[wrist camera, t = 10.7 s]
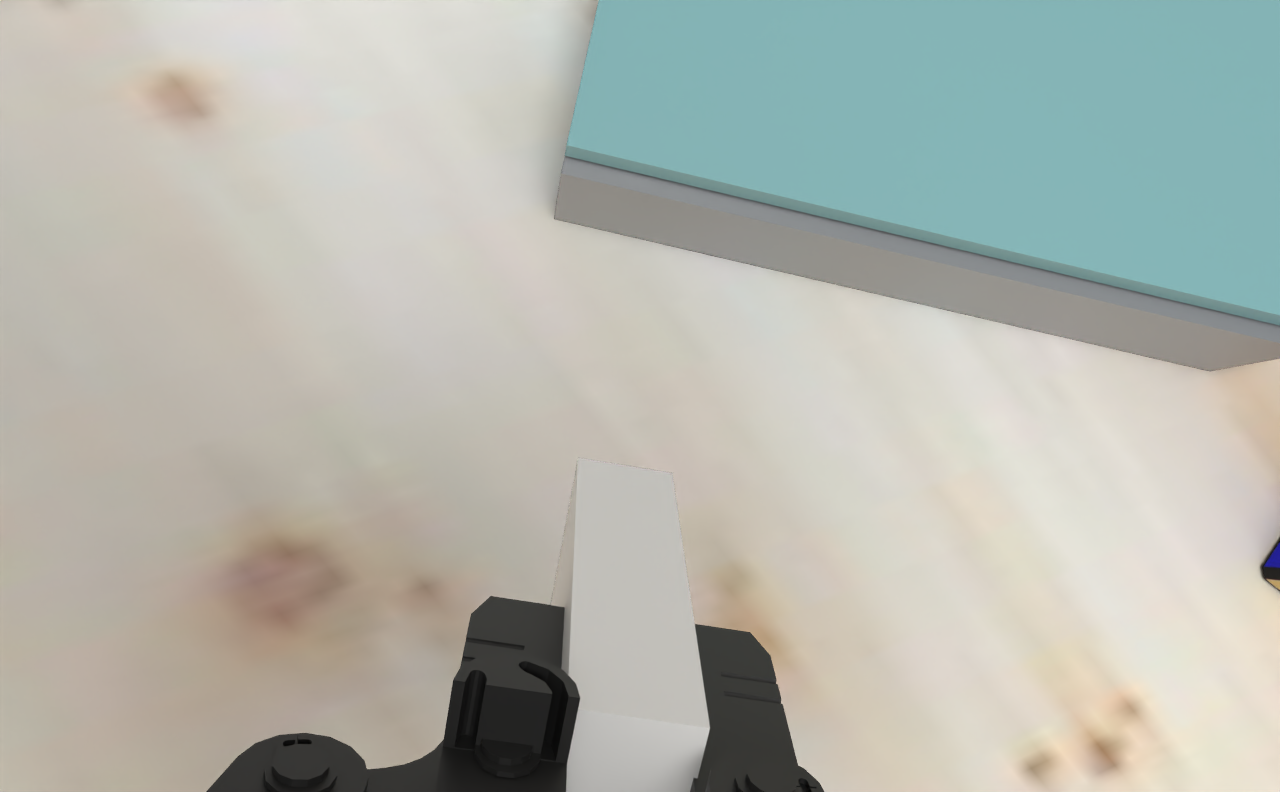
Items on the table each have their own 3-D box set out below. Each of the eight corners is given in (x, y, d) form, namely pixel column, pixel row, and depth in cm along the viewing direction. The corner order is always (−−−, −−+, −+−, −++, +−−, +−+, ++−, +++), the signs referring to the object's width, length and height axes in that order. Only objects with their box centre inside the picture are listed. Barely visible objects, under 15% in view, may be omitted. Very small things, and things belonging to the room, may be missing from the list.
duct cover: (1324, 335, 39) (1345, 330, 38) (565, 155, 37) (566, 145, 36) (1362, 31, 40) (1383, 19, 39) (635, -160, 38) (638, -179, 37)
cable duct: (1210, 371, 45) (1316, 351, 39) (554, 218, 43) (561, 173, 37) (1251, 103, 46) (1360, 45, 40) (615, -60, 44) (632, -147, 38)
